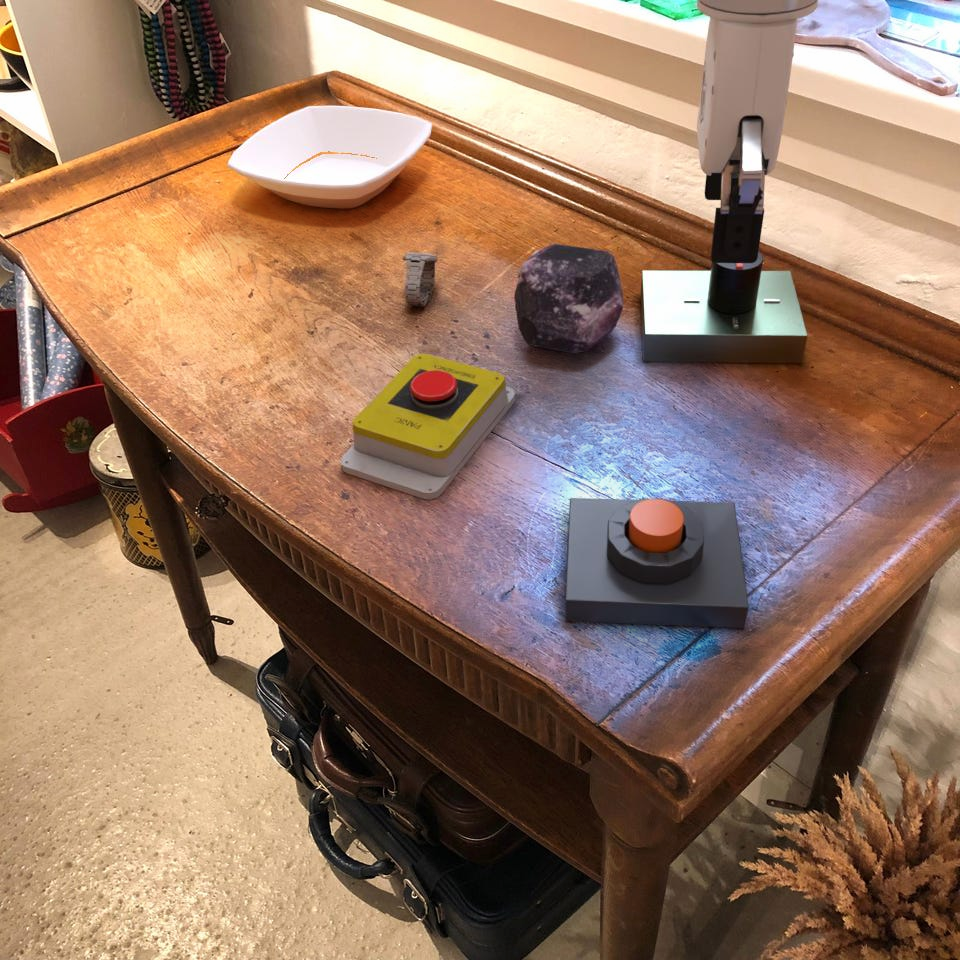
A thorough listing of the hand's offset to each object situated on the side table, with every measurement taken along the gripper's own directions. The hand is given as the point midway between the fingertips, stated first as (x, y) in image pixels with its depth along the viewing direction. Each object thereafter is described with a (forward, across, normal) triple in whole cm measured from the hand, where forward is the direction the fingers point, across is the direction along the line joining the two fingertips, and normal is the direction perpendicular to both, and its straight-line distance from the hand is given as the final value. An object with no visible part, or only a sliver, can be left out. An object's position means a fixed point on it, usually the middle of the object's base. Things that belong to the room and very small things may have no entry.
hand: (728, 228), depth 73 cm
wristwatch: (+16, -15, -28) cm, 35 cm away
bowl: (+16, -41, -42) cm, 61 cm away
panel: (+16, -11, +1) cm, 19 cm away
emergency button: (+16, +6, -23) cm, 29 cm away
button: (+13, +20, -5) cm, 24 cm away
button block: (+16, +20, -5) cm, 26 cm away
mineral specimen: (+16, -8, -13) cm, 22 cm away
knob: (+13, -11, +2) cm, 17 cm away
